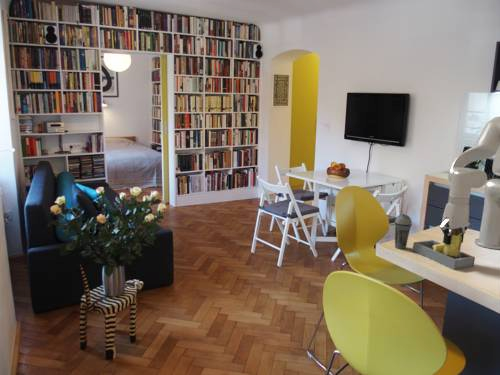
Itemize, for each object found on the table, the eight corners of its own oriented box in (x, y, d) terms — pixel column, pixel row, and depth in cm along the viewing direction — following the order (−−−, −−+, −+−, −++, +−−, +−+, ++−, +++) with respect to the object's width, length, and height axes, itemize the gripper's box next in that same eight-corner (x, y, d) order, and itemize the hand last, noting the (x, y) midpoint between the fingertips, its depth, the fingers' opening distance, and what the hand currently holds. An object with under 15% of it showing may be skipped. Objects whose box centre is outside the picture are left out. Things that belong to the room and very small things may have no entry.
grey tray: (431, 248, 186) (432, 239, 185) (473, 266, 166) (475, 257, 165) (412, 250, 182) (413, 242, 181) (453, 269, 162) (455, 260, 161)
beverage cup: (389, 244, 189) (394, 202, 185) (405, 245, 189) (410, 203, 185) (394, 250, 182) (399, 206, 178) (411, 250, 182) (416, 207, 178)
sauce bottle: (460, 261, 166) (467, 214, 162) (444, 259, 168) (450, 213, 163) (456, 255, 173) (462, 210, 169) (440, 254, 174) (446, 209, 170)
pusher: (439, 250, 180) (441, 240, 179) (449, 254, 175) (450, 243, 174) (425, 252, 177) (426, 241, 176) (434, 256, 172) (436, 245, 171)
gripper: (465, 197, 172) (460, 238, 175) (435, 200, 165) (429, 242, 169) (481, 201, 165) (475, 243, 169) (450, 204, 158) (444, 248, 162)
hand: (452, 242), depth 169 cm, fingers closed on sauce bottle, 6 cm apart
